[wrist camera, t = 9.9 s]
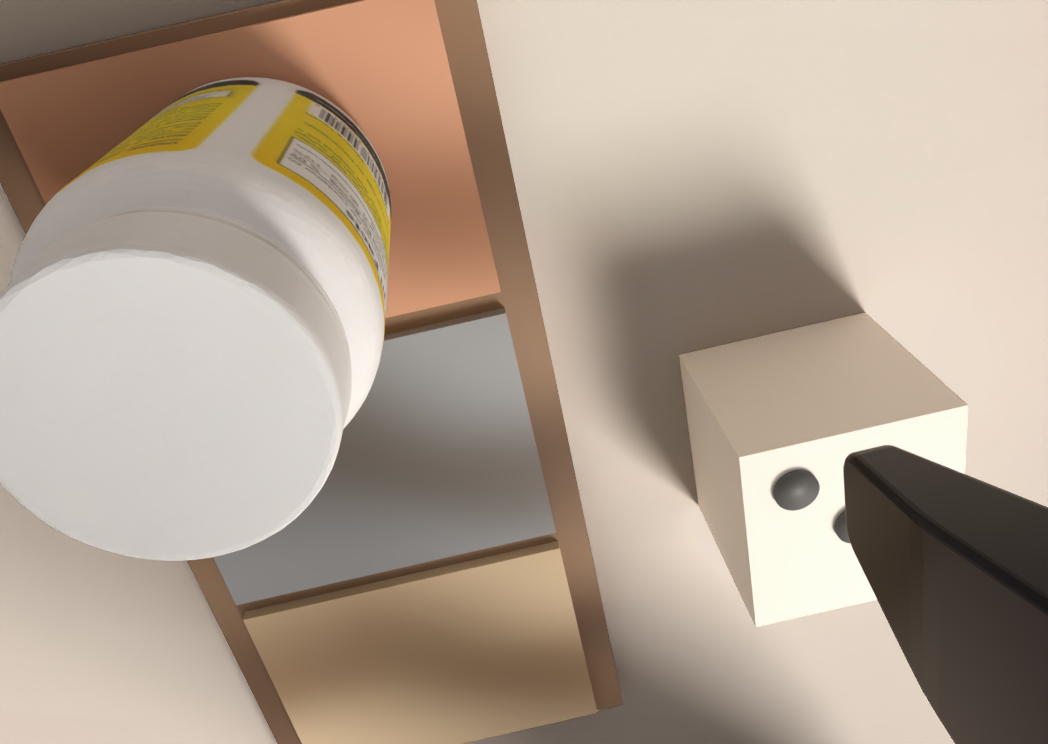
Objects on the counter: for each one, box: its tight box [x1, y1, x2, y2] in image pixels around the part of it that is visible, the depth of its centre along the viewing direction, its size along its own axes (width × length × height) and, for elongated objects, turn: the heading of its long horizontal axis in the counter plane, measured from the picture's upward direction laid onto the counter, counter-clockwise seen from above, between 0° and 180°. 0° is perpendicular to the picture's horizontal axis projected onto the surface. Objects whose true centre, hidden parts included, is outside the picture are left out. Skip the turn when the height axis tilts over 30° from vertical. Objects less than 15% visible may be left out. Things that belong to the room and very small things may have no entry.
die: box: [679, 313, 968, 627], centre depth 20 cm, size 4×4×5 cm
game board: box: [0, 0, 623, 744], centre depth 21 cm, size 20×10×1 cm, turn 11°
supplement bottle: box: [0, 77, 392, 561], centre depth 13 cm, size 5×5×8 cm
